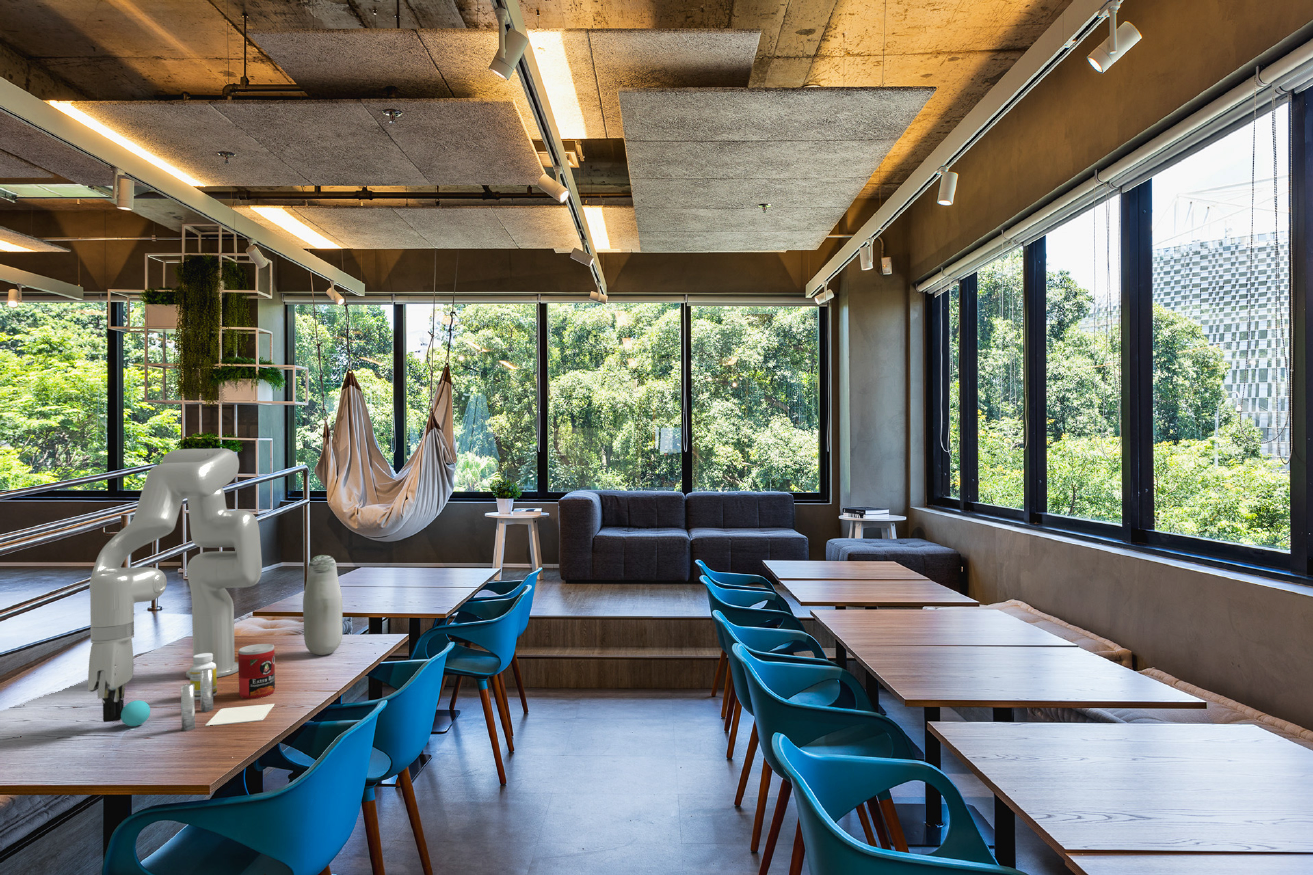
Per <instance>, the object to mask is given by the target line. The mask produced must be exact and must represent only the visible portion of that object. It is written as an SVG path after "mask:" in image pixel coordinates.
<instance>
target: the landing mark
mask: <svg viewBox="0 0 1313 875" xmlns="http://www.w3.org/2000/svg"><path fill="white" fill-rule="evenodd" d="M274 706H275V703H270V704H269V703H267V704H256V705H248V706H247V705H246V706H244V705H243V706H237V707H236V706H235V707H225V708H220V709H219V710H218V712H216V713H215V715H213V717H212V718H210V719H209V721H208V722H206V723H205V727H209V726H210V725H213V726H222V725H231V724H233V725H234V724H240V723H250V722H253V723H254V722H261V721H263V720H264V719H265V718H266V717H267V716H268V714H269V713H270V712H271V710H272V709H273V707H274ZM210 727H211V726H210Z"/></svg>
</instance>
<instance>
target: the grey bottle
mask: <svg viewBox="0 0 1313 875" xmlns="http://www.w3.org/2000/svg"><path fill="white" fill-rule="evenodd" d="M337 567H338V566H337V563H336V560H335V559H334V557H333V556H331V555H327V554H320V555H316V556H314V557H313V558H311V560H310V561H309V562H308V566H307V578H306V583H305V587H304V591H303V598H302V615H303V616H302V617H303V639H304V644H305V647H306V649H307V650H308V651H309V652H310V653H311V654H314V655H318V656H324V655H329V654H333V652H336V650H337V649H338V648H339V647H340V645H341V643H342V640H343V595H342V594H343V593H342V589H341V588H342V587H341V586H340V582H339V581H340V580H339V576H338V568H337Z"/></svg>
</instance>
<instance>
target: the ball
mask: <svg viewBox="0 0 1313 875" xmlns="http://www.w3.org/2000/svg"><path fill="white" fill-rule="evenodd" d="M150 716H151V707H150V705H149V704H148V703H147V702H146V701H144V700H133V701H130V702H128V703H127V704H126V705H124V708H123V709H122V712H121V720H120V721H122V723H123V724H124V725H126V726H127V727H139V726H140V725H142V724H144V723H145V722H147V720H148V719H149V717H150Z"/></svg>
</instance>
